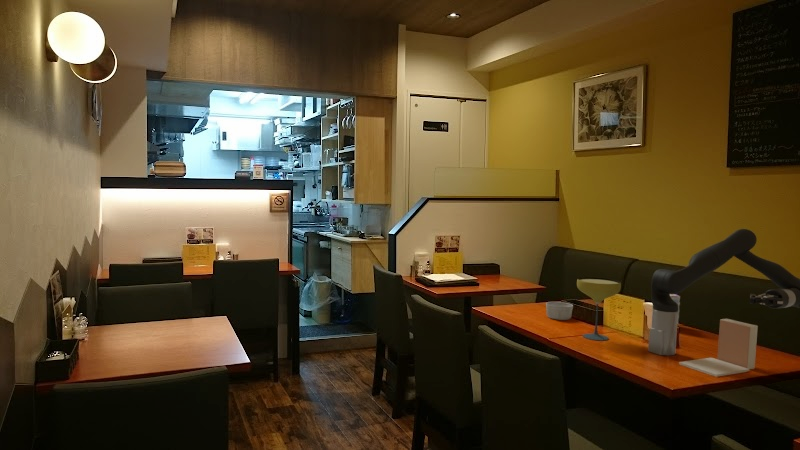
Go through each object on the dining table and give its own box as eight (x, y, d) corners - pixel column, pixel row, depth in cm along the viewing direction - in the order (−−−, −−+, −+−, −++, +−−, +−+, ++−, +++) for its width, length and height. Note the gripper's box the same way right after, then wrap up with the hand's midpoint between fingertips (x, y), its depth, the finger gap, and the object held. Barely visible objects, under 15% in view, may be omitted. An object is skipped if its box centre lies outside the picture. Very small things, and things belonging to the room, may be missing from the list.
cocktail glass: (594, 344, 237) (597, 284, 236) (565, 333, 254) (568, 277, 252) (627, 341, 245) (630, 283, 243) (596, 330, 261) (599, 276, 260)
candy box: (678, 331, 266) (681, 296, 265) (665, 330, 267) (667, 295, 266) (670, 324, 280) (673, 291, 279) (658, 323, 281) (660, 290, 280)
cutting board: (716, 376, 200) (716, 374, 200) (679, 364, 214) (679, 362, 214) (749, 371, 208) (749, 369, 208) (711, 359, 222) (711, 357, 221)
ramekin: (551, 313, 296) (551, 300, 295) (576, 317, 288) (577, 304, 288) (541, 317, 285) (541, 304, 285) (567, 322, 277) (567, 308, 277)
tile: (747, 369, 210) (750, 326, 209) (716, 360, 221) (719, 319, 220) (754, 368, 212) (757, 325, 211) (723, 359, 223) (726, 318, 222)
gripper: (763, 286, 231) (735, 288, 223) (798, 291, 219) (770, 294, 212) (762, 304, 232) (734, 307, 224) (796, 311, 220) (768, 314, 212)
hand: (751, 300), depth 218 cm, fingers closed
